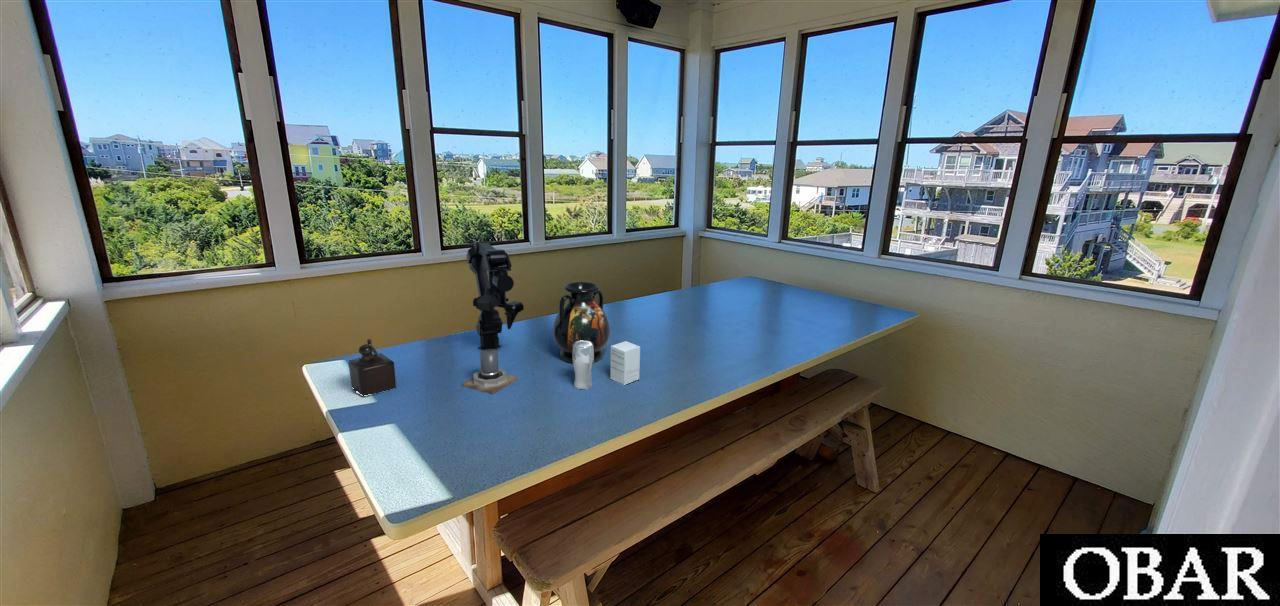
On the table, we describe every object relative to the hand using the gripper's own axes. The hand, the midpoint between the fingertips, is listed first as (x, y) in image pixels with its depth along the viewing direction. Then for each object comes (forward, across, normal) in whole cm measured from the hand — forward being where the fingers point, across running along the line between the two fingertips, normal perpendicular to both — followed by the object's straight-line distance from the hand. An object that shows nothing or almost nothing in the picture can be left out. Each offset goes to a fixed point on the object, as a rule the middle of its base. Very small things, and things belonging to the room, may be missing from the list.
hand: (498, 327), depth 186 cm
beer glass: (+13, +38, -4) cm, 40 cm away
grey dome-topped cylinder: (+12, +10, -17) cm, 23 cm away
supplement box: (+13, +48, +7) cm, 50 cm away
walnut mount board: (+13, +10, -17) cm, 24 cm away
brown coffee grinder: (+13, -17, -39) cm, 44 cm away
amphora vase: (+13, +24, +18) cm, 33 cm away
